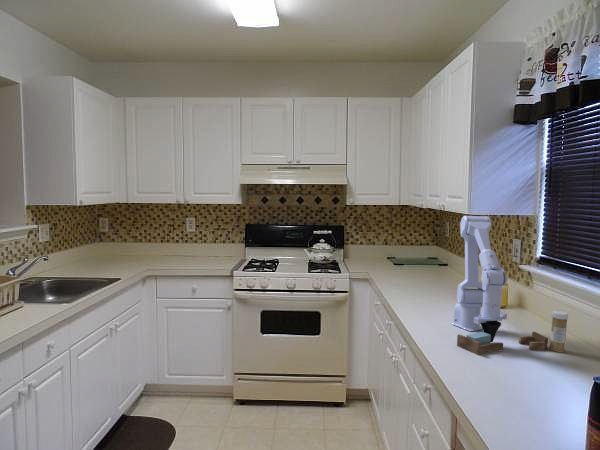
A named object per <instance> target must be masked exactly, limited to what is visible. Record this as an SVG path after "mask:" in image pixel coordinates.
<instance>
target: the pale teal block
mask: <svg viewBox="0 0 600 450" xmlns="http://www.w3.org/2000/svg"><path fill="white" fill-rule="evenodd" d="M465 337H468V338H470V339H473V340H475V341H478V342H480V345H484V344H488V343H492V342H491V335H490V334H487V333H484V331H480V332H475V333H470V334H466V336H465Z"/></svg>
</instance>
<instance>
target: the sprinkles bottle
mask: <svg viewBox="0 0 600 450" xmlns="http://www.w3.org/2000/svg"><path fill="white" fill-rule="evenodd" d="M551 316H552V317H551V318H552V319H551V329H550V330H551V331H550V342H549V343H550V344H549V345H550V346H549V349H550V350H551V351H554V352H556V353H564V352H565V351H566V349H565V347H566V340H567V339H566V337H567V323H568V319H569V313H568V312H566V311H563V310H552V313H551Z"/></svg>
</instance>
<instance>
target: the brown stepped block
mask: <svg viewBox="0 0 600 450" xmlns="http://www.w3.org/2000/svg"><path fill="white" fill-rule="evenodd" d="M548 341H549V338H548V337H546V336H544V335H542V334H540V333H539V332H536V331H532V334H531V335H524V336H523V335H519V336H518V344H520V345H528V349H529V350H530V351H543V350H545V351H546V350H548V343H549V342H548Z"/></svg>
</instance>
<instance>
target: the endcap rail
mask: <svg viewBox="0 0 600 450" xmlns="http://www.w3.org/2000/svg"><path fill="white" fill-rule="evenodd" d="M456 342H457V343H456V347H458V348H461V349H463V350H465V351H468V352H470V353H473V354H475V355H477V356H478V355H482V354H485V353H490V352H491V353H492V352H495V351H496V352H498V351H499V350H504V343H503V342H499V341H498V342H497V341H495V342H494V341H493V342H490V343H488V344H484V345H480V342H478V341H475V340H473V339H470V338H468V337H466V336H465V335H463V334H459V333H458V334H457V340H456ZM494 350H495V351H494ZM497 350H498V351H497Z"/></svg>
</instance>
